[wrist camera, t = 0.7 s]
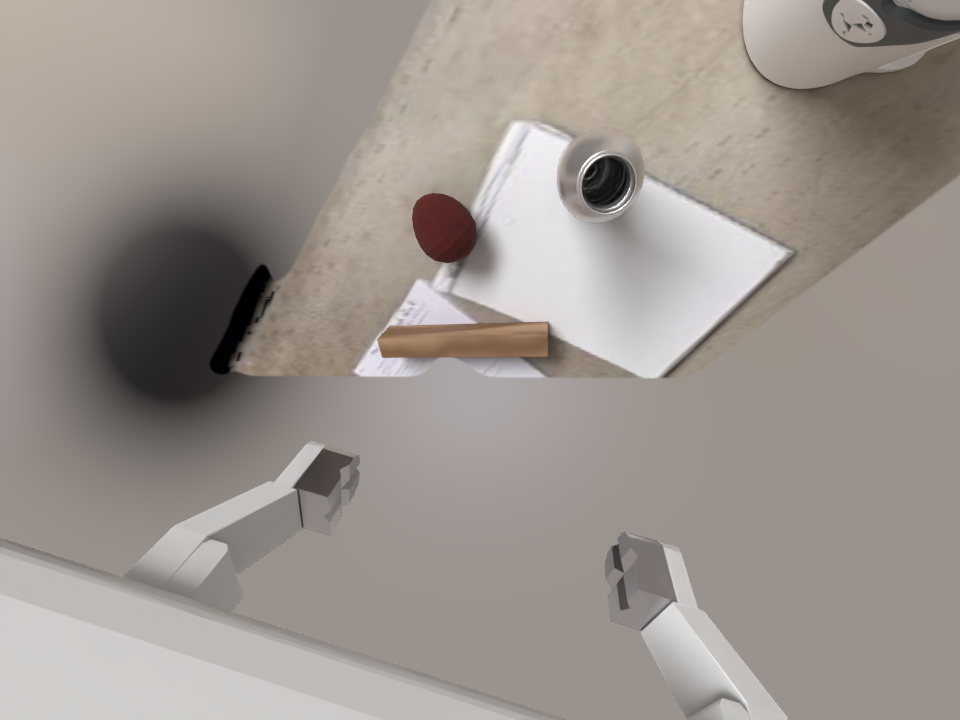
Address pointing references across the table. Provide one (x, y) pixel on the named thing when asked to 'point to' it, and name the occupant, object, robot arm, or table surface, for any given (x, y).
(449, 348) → the board
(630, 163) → the plastic bottle
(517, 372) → the table surface
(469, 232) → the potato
